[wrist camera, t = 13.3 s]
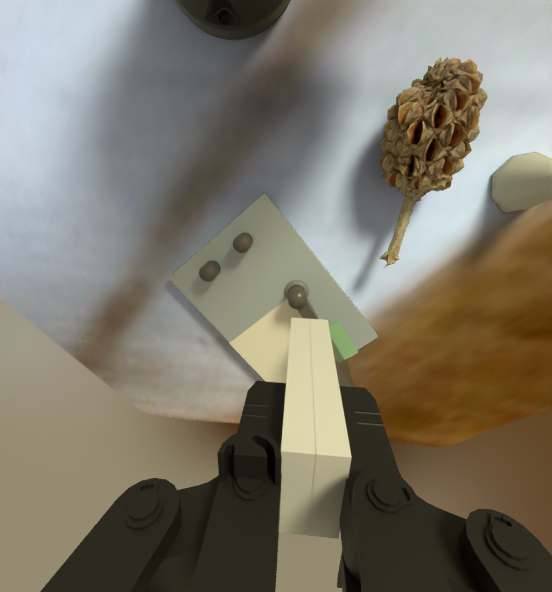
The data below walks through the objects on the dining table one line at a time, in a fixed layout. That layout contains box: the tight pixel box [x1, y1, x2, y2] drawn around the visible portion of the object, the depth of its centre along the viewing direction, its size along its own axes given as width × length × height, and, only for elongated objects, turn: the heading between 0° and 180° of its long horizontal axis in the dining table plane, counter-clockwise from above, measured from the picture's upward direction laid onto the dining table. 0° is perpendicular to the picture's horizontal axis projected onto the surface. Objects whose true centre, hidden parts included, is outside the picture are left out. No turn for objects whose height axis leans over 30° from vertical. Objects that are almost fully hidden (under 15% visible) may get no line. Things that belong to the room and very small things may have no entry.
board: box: [168, 193, 378, 383], centre depth 43 cm, size 26×18×5 cm
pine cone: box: [380, 57, 487, 267], centre depth 35 cm, size 22×10×10 cm, turn 175°
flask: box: [491, 152, 552, 213], centre depth 34 cm, size 7×7×10 cm
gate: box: [288, 285, 355, 387], centre depth 40 cm, size 15×2×8 cm, turn 32°
